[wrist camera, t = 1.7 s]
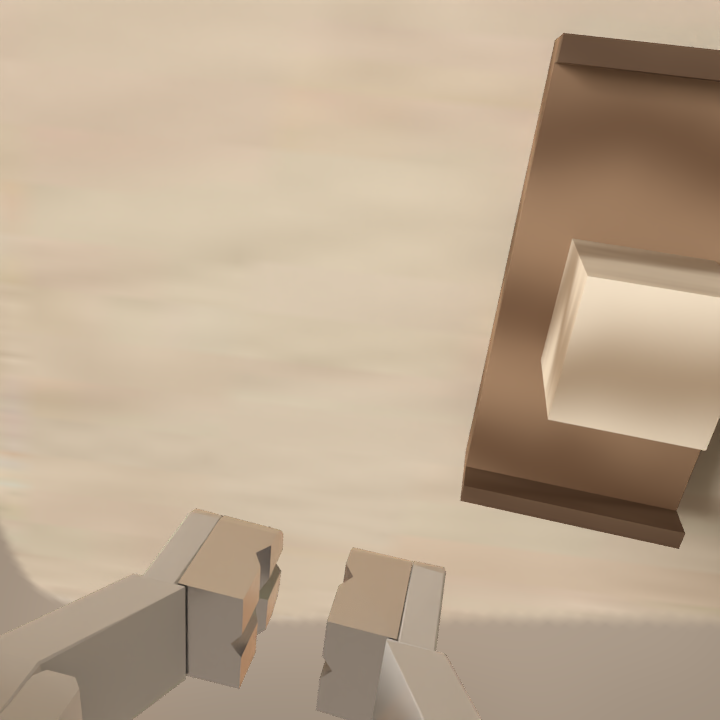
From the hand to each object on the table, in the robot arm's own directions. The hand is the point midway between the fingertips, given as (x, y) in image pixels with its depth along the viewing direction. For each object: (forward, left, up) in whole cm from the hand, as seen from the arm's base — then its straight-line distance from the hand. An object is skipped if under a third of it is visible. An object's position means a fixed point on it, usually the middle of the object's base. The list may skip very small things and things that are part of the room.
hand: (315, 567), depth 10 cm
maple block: (0, +7, -17) cm, 18 cm away
